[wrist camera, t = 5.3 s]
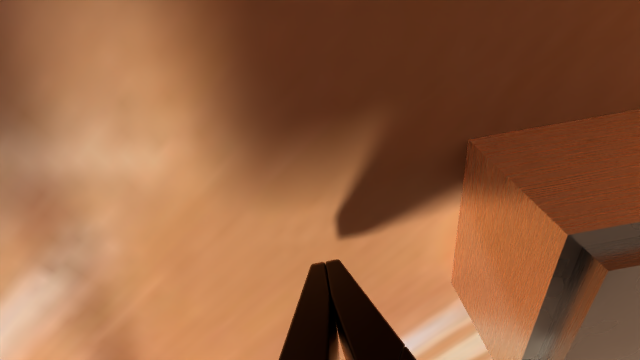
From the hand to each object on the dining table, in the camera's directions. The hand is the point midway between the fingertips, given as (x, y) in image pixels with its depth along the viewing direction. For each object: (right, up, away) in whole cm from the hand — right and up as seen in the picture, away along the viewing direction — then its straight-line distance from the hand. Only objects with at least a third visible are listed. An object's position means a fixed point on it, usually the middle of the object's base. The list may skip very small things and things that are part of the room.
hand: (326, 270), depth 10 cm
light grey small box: (+7, +2, +1) cm, 8 cm away
